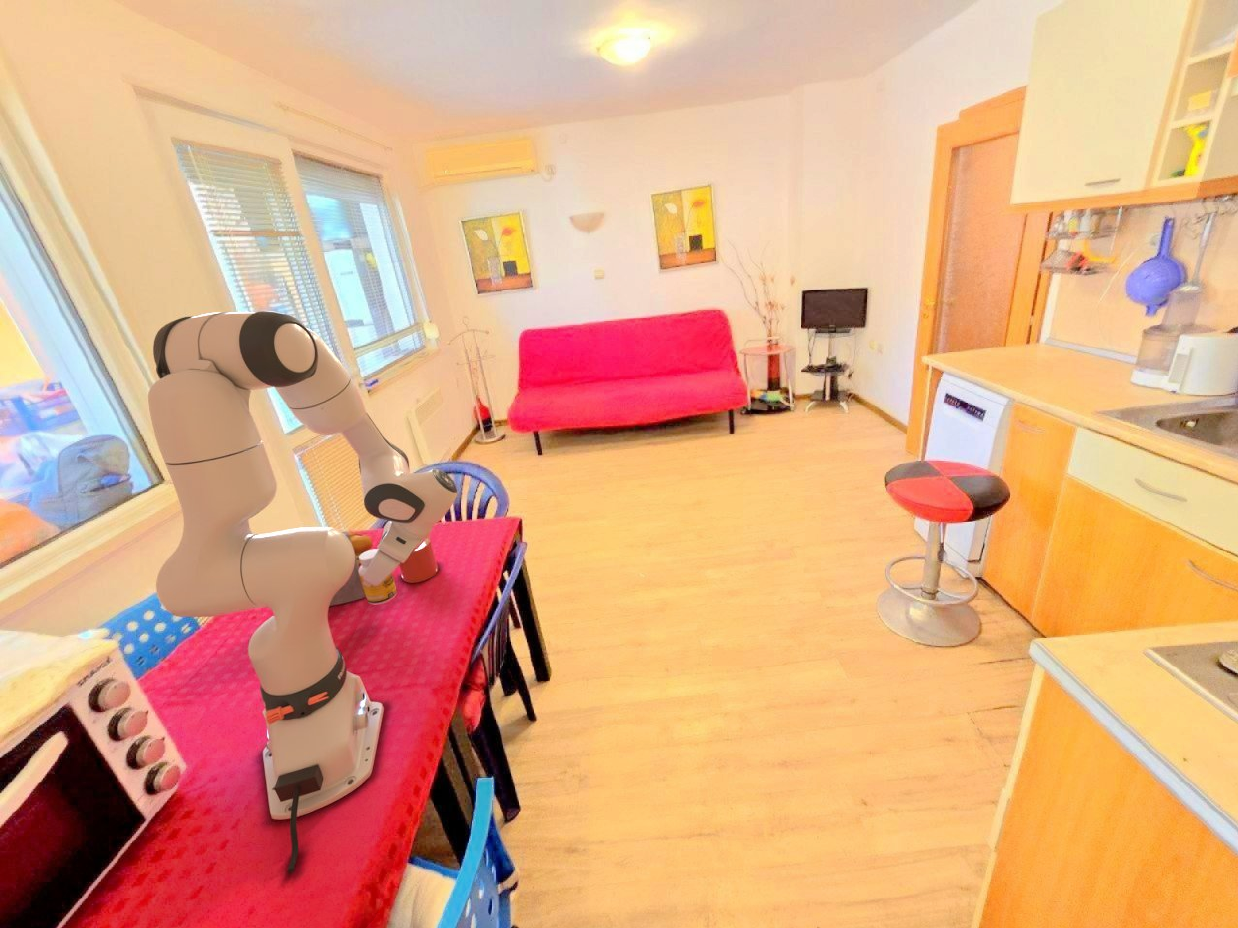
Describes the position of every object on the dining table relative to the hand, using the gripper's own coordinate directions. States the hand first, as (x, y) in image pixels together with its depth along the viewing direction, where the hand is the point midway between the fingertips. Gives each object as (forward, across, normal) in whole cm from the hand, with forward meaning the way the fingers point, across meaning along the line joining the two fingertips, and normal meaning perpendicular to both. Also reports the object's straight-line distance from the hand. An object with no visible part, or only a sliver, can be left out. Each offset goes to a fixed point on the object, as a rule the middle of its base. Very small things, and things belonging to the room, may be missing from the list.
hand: (372, 574), depth 115 cm
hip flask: (+19, -8, -3) cm, 21 cm away
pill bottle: (+4, 0, +5) cm, 7 cm away
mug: (+5, -18, +10) cm, 21 cm away
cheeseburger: (+20, -27, -4) cm, 34 cm away
